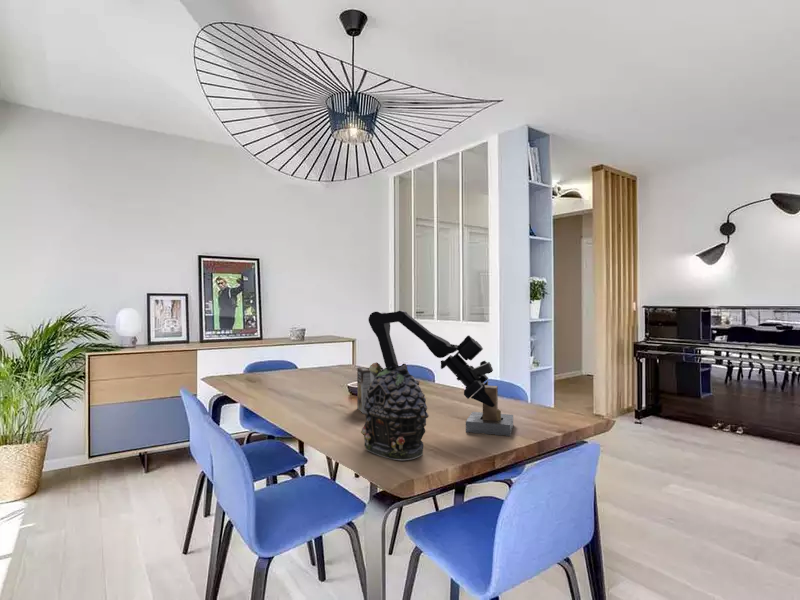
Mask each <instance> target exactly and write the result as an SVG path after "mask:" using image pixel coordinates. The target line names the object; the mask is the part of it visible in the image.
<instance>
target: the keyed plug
mask: <svg viewBox="0 0 800 600" xmlns="http://www.w3.org/2000/svg"><path fill="white" fill-rule="evenodd" d="M498 387H499V386H498V385H489V384H488V385H485V392H486V393H487V394H488V396H489V397H490V399H491V400H492V402H493V403H494V406H493V407H490V406H488V405H486V404H484V403H482V413H483V420H493V421H499V420H501V414H502V409H500V408H499V407H498V402H499V401H498V399H499V397H498V395H499V393H498V389H499V388H498Z"/></svg>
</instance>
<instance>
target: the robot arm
mask: <svg viewBox="0 0 800 600" xmlns="http://www.w3.org/2000/svg"><path fill="white" fill-rule="evenodd" d="M392 323H400V325H402V326H404V327H405V328H406V329H408V330H409V331H410V332H411V333H412V334H413V335H415V336H416V337H417V338H418V339H419V340H421V341H422V342H423V343H424V344H425V345H426V347H427V349H428V351H430V352H431V354H432V355H434V356H435V358H438V359H443V358H445V359H444V360H440V370H443V369H445V368H446V367H447V368H448V369H449V370H450V371H451V372H452V374H453V375H454V376H455V377H456V380H457V381H460V383H462V384H463V385H464V386H465V387H464V391H463V395H464V397H465V398H466V399H467V400H468V399H472V400H475V401H478V402H480V403H481V404H483V403H484V404H486V405H488V406H490V407H493V406H494V403H493V402H492V400H491V399H490V397H489V396H488V394H487V393H486V392H485V385H489V377H488V376H487V374H488V375H489V374H491V373H493V371H494V369H493V366H492V364H491V363H490V362H489V361H488V362H487V361H486V360H482V361H481V362H480V363H479V366H475V367H474V366H473V365H469V364H468V362H466V361H468V360H469V361H472V360H473V359H475V357H476V356H477V355H479V354H480V353H481V352H482V351H483V350H484V348H483V347H482V345H481V344H480V343H479V342H478V341H477V340H475V338H472V337H471V336H470V335H467V336H465V338H463V340H462V341H461V342H460V343H459V344H453V343H450V342H449V341H448V340H447V339H445V338H443V337H441V336H439V335H436V334H434V333H432V332H431V331H430V330H428V329H427V328H426V327H424V326H423V325H422V323H420V322H418V321H417V320H416V319H415V318H413V317H412V316H411V315H410V314H408V311H405V310H397V311H392V312H385V311H381V310H379V311H373V312H371V313H370V315H369V316H368V324H369V326H370V329H371V330H372V331H373V333H374V335H376V337H377V340H378V343H379V348H380V351H381V354H382V359H383V362H384V365H385V368H386V367H387V366H388V367H387V369H388V368H390V367H391V363H395V364H396V363H397V364H396V365H398V366H399V363H398V360H397V355H396V352H395V348H394V345H393V341H392V337H391V324H392ZM454 353H455V354H454ZM450 354H454V355H450ZM446 357H447V358H446Z"/></svg>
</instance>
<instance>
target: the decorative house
mask: <svg viewBox="0 0 800 600" xmlns="http://www.w3.org/2000/svg"><path fill="white" fill-rule="evenodd" d="M396 364H397V363H396ZM396 364H395V363H391V367H390V368H388V369H387V367H388V366H387V367H386V366H385V367H382V365H380V363H378V362H373V363H372V364H370V365H369V367H368V368H369V370H370V380H371V383H370V387H369V388H368V389H367V396H366V399H365V406H364V410H365V413H364V415H365V423H364V425H363V427H362V429H361V431H360V434H362V435H363V438H364V448H365V450H366V451H368V452H370V453H372V454H374V455H377V456H379V457H384V458H386V459H390V460H394V461H395V460H396V461H410V460H414V459H416V458H419V457H421V456H423V454H424V442H423V440H422V439H423V436H424V435H425V434H426V429H425V427H426V426H427V419H428V418H429V417H430V415H429V414H428V412H427V411H428V406H427V404H426V402H427V401H426V399H427V398H426V397H425V395H426V394H424V393H423V390H422V388H421V387H420V381H419V380H416V379H415V377H414V376H413V375H412V374H410V372H409V369H408V366H407V364H406V363H403V364H401V365H399V364H398V365H396Z"/></svg>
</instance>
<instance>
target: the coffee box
mask: <svg viewBox="0 0 800 600" xmlns="http://www.w3.org/2000/svg"><path fill="white" fill-rule="evenodd" d="M356 370H357V371H356V373H357V379H356V381H357V391H356V393H357V394H356V395H357V396H356V397H357V401H356V402H357V403H356V405H357V407H356V408H357V410H358V411H359V410H360V411H361V412H362V413H361V412H360V411H359V412H360V413H361V414H365V410H364V406H365V399H366V396H367V389H368V388H369V387H370V383H371V380H370V370H369V367H357V368H356Z"/></svg>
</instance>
